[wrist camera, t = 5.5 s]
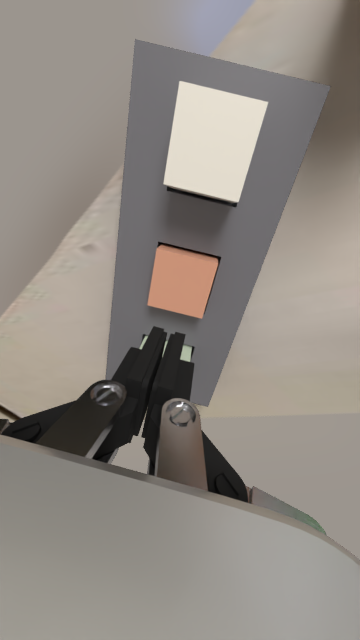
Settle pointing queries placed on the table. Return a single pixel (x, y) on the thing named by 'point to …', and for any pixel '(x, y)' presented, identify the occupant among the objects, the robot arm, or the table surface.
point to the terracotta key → (182, 280)
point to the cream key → (212, 141)
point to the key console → (201, 203)
